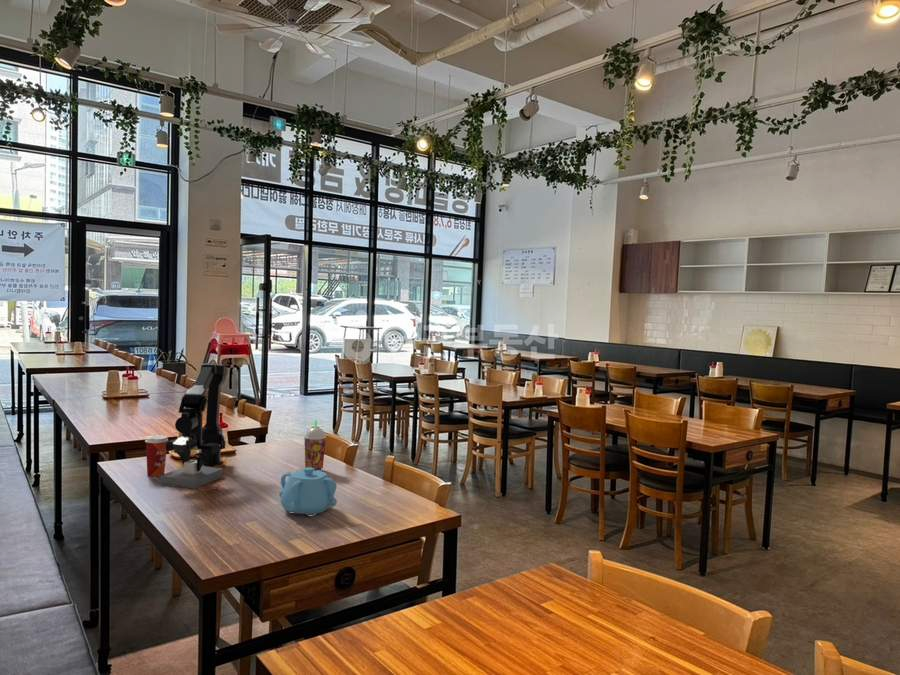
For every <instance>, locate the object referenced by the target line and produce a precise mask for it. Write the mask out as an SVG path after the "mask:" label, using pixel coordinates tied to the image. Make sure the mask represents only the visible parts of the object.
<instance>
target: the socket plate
mask: <svg viewBox="0 0 900 675" xmlns="http://www.w3.org/2000/svg"><path fill="white" fill-rule="evenodd" d="M223 472H224V468H220V467H215V466H206V465H204V466H203V465H202V467H201V472H199V473H197V474H195V475H193V474H185V473H184V466H182V467H180V468H177V469H174V470H171V471H168V472H166V473H164V474H163V475H160V476H159V485H163V484H167V485H166V486H171V485H173V487H178V486H181V487H180V488H186V487H189V488H188V489H194V488H196V489H198V488H200V487H202V486H204V485H207V484H209V483H211V482H213V481H215V480H216V481H217V480H218V479H220V478H222V477H223V475H224V473H223ZM197 487H198V488H197Z"/></svg>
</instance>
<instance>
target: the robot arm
mask: <svg viewBox="0 0 900 675" xmlns="http://www.w3.org/2000/svg"><path fill="white" fill-rule="evenodd" d="M227 375H228V367H227V366H225V363H223V364H220V363H219V364H218V363H208V362H207V363H202V364H201V366H200V371H199V374H198V375H197V378H196V380H195V382H194V383H193V386H192V387H189V388H188V389H187V390H186V392H185V393H184V394H183V396H182V398H181V400H180V401H181V402H180V404H179V409H178V414H181V416H180V417H179V418H177V420H176V421H175V423H174V426H175V429H176V430H177V432H179V433H181V436H180V437H178V438H175V439H171V440H168V441H167V444H166V451H173V452H174V453H175V454H177V455H178V456H179V457H180V460H181V462H182V465H183V466H184V462H186V461H189V460H191V459H190V458H191V453H192V452H191V450H196V451H197V450H198V452H197V453H195V454H194V455H195V456H196V460H197V471H200V469H201V467H202V466H203V465H204V466H210V467H216V466H219V465H221V464H223V463H224V462H225V461H224V460H221V456H222V455H221V453H222V452H221V451H223V450H224V449H226V439H225V437H224V433H223V428H222V426H221V425H220V423H219V421H220V406H221V391H222V390H221V389H222V386H223V384H224V383H225V381H226V378H227ZM206 393H207V395H206ZM205 411H206V419H205V420H206V421H205V424H204V425H203V417H204V416H203V413H204V412H205Z"/></svg>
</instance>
